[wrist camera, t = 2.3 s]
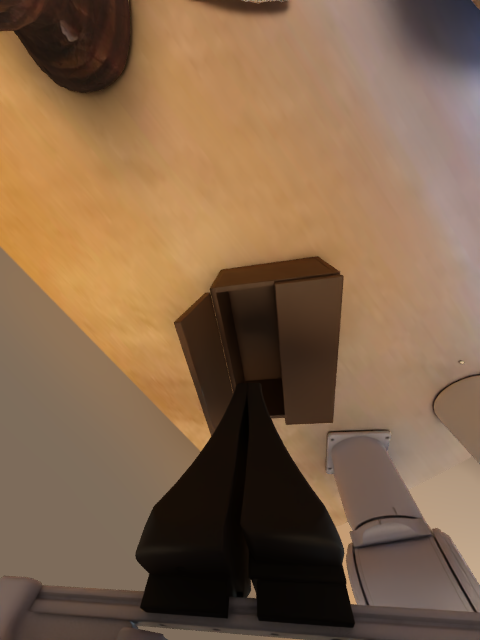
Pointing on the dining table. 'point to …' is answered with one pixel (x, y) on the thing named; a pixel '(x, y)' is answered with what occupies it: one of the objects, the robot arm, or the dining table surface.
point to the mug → (462, 412)
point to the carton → (283, 334)
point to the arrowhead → (259, 0)
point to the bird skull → (477, 3)
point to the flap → (205, 358)
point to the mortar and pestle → (72, 38)
